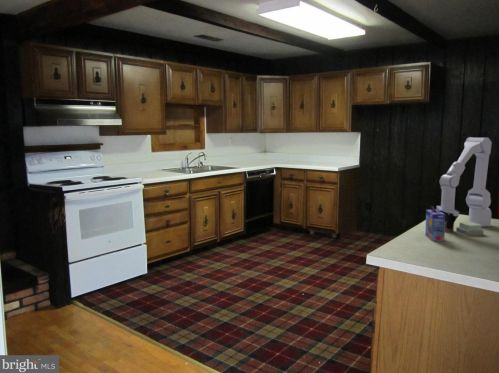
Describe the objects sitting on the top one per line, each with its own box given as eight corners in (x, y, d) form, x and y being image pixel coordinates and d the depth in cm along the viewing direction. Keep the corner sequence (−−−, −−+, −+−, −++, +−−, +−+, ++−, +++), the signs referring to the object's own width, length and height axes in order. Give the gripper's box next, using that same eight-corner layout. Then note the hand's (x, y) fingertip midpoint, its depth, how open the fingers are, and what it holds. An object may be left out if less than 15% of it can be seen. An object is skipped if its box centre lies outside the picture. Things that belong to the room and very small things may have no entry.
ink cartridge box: (424, 235, 189) (425, 204, 187) (436, 235, 188) (438, 204, 186) (431, 241, 179) (433, 208, 177) (444, 241, 178) (446, 208, 176)
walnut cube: (447, 229, 199) (448, 220, 198) (453, 231, 194) (454, 222, 193) (439, 229, 198) (439, 220, 197) (444, 232, 194) (445, 222, 193)
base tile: (471, 231, 196) (471, 226, 196) (483, 236, 188) (483, 230, 188) (456, 232, 195) (456, 227, 194) (467, 236, 187) (467, 231, 187)
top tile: (471, 226, 195) (472, 221, 194) (481, 230, 188) (481, 225, 188) (459, 227, 194) (459, 222, 193) (468, 231, 187) (468, 225, 187)
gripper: (431, 197, 200) (430, 224, 202) (449, 202, 186) (447, 231, 188) (444, 196, 201) (443, 223, 203) (463, 202, 187) (461, 231, 189)
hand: (446, 227), depth 196 cm, fingers closed on walnut cube, 4 cm apart
